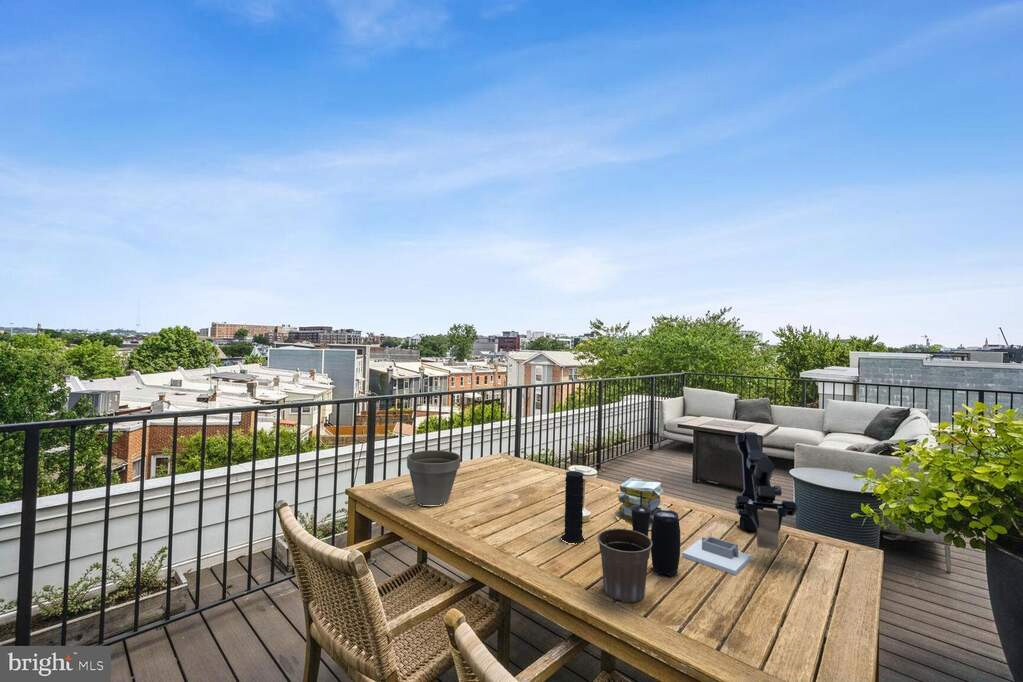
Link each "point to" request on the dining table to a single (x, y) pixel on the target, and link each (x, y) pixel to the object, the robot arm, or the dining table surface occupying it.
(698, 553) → the white base with frame
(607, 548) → the plant pot
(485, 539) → the dining table surface
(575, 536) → the handle grip
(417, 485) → the plant pot
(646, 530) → the drinking cup
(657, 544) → the portable speaker
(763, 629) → the dining table surface
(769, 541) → the wooden rectangular pillar
